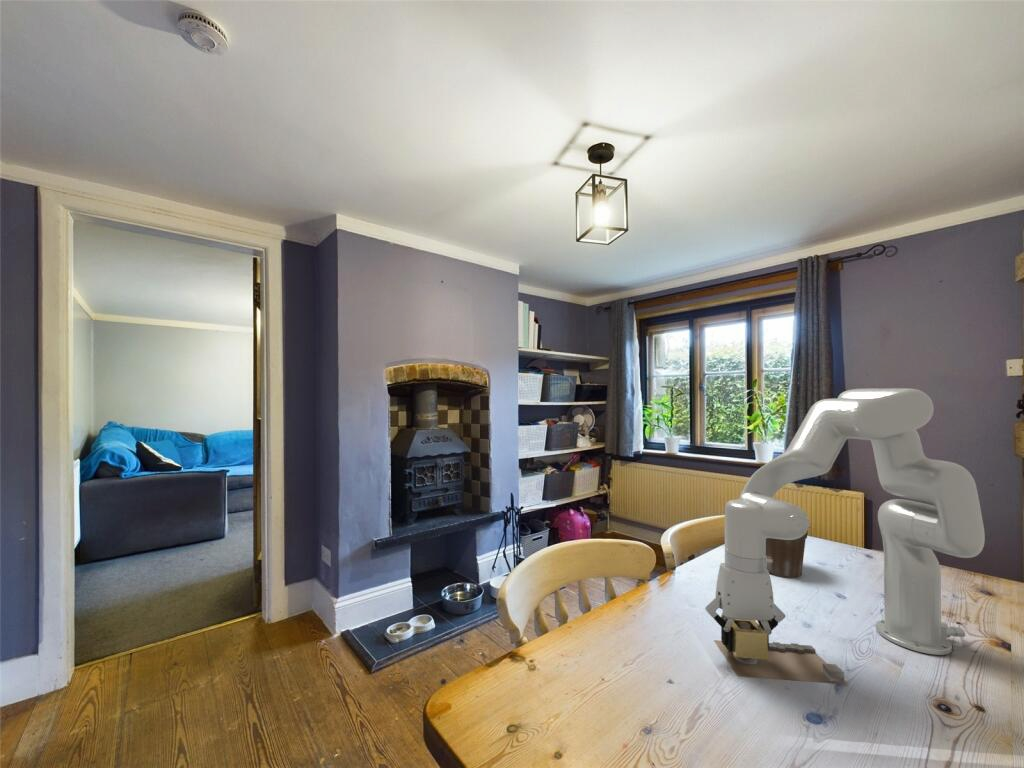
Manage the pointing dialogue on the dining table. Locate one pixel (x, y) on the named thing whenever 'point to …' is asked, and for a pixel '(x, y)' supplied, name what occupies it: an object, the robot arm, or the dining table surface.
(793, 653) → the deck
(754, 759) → the dining table surface
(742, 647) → the end link
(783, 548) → the plant pot
